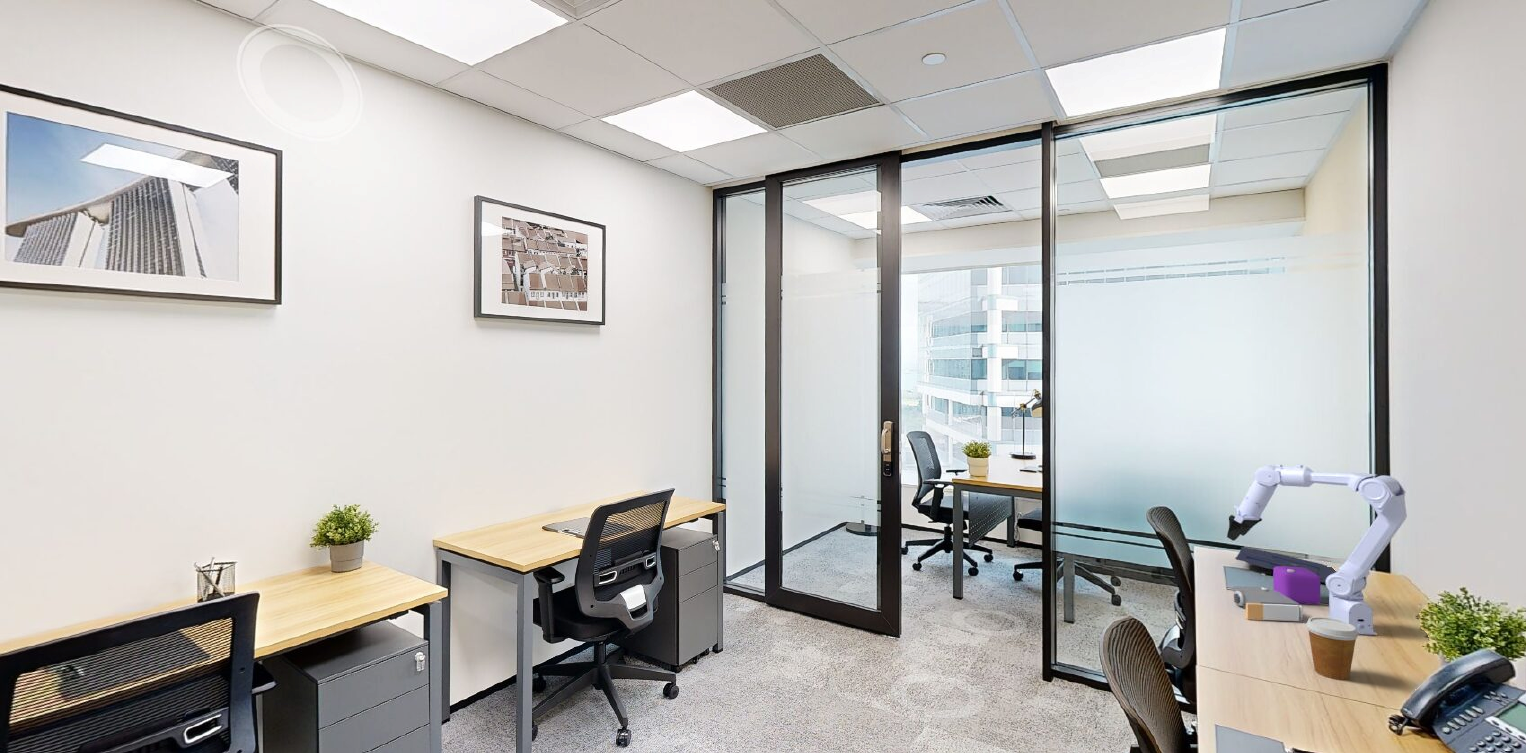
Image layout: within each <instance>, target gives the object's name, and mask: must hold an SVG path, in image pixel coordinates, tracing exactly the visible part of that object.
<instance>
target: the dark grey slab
mask: <svg viewBox="0 0 1526 753" xmlns="http://www.w3.org/2000/svg"><path fill="white" fill-rule="evenodd" d="M1235 560H1238V561H1241V562H1245V563H1246V564H1250V565H1252V566H1253V565H1254V566H1258V567H1261V568H1264V569H1268V570H1274V567H1276V566H1287V567H1301V568H1306V569H1308V570H1310V571H1311V572H1313V573H1315V574H1316V575H1318V576H1319V577H1320V583H1324V584H1326V578H1327V577H1328V576H1329V575H1331V574H1334V573H1336V572H1337V571H1335V570H1334V569H1333V568H1332V567H1333V566H1331V567H1327V566H1328V565H1326V564H1324V563H1318V562H1314V561H1311V560H1307V559H1303V558H1299V557H1295V556H1291V555H1285V554H1282V553H1276V552H1270V551H1266V550H1261V549H1258V548H1257V549H1256V548H1248V547H1244V546H1241V548H1240V551H1239V552H1238V554H1237V556H1236V557H1235Z"/></svg>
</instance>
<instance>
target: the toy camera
mask: <svg viewBox="0 0 1526 753" xmlns="http://www.w3.org/2000/svg"><path fill="white" fill-rule="evenodd" d="M1272 572H1273V574H1272V578H1273V580H1272V581H1273V582H1272V584H1273V588H1272V589H1274V590H1275V591H1277V592H1279V593H1281V594H1283V595H1284V596H1286V597H1288V598H1290V599H1292V600H1293V601H1295V602H1297V603H1299V604H1300V605H1302V604H1303V605H1318V604H1320V603H1321V582H1320V577H1319V576H1318V575H1316V574H1315V573H1313V572H1311V571H1310V570H1308V569H1306V568H1301V567H1287V566H1276V567H1274V569H1273V571H1272Z"/></svg>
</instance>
